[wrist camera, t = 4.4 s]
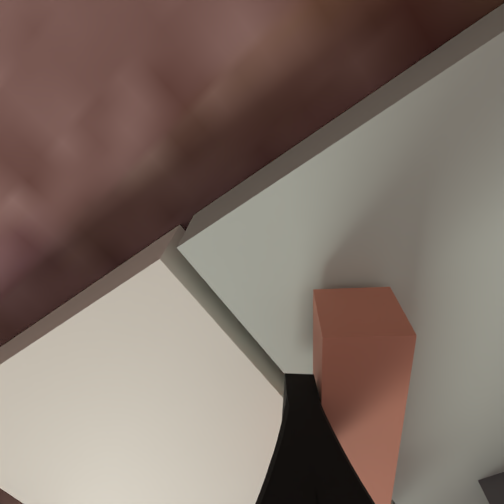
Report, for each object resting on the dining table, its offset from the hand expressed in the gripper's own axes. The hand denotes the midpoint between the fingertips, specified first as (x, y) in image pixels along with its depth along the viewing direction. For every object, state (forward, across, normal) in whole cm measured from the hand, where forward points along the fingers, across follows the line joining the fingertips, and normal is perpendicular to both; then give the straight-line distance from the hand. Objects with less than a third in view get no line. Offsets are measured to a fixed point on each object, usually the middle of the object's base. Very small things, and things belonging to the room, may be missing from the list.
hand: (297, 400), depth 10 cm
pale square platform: (+4, -1, +4) cm, 6 cm away
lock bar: (+1, -2, +3) cm, 3 cm away
